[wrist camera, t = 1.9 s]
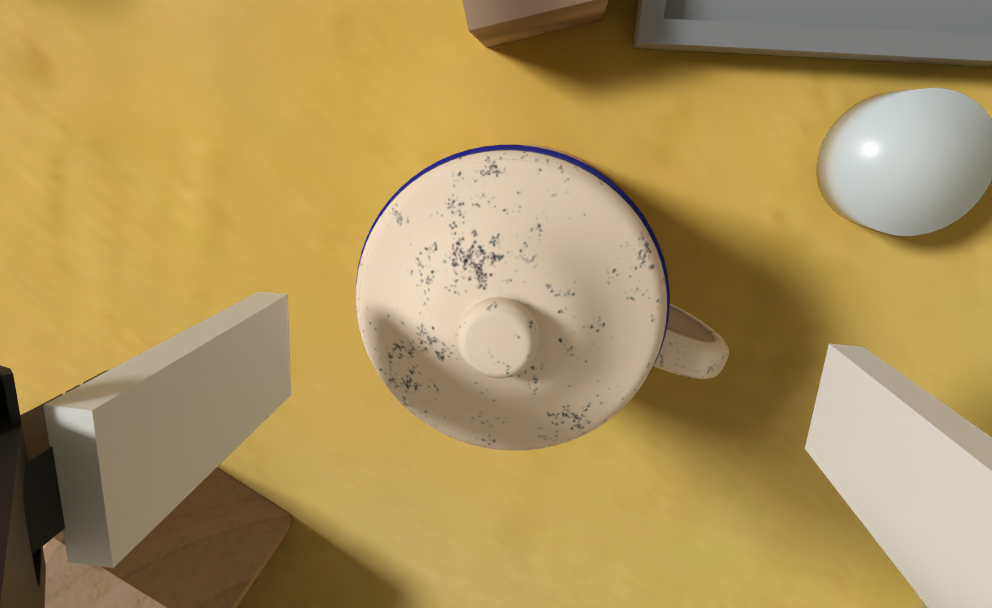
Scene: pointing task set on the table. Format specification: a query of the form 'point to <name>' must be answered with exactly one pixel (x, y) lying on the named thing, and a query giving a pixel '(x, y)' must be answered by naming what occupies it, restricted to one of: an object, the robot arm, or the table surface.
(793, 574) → the table surface
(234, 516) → the decorative block
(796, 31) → the tray
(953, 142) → the white egg-shaped dome
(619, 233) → the teacup with lid
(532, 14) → the walnut cube
